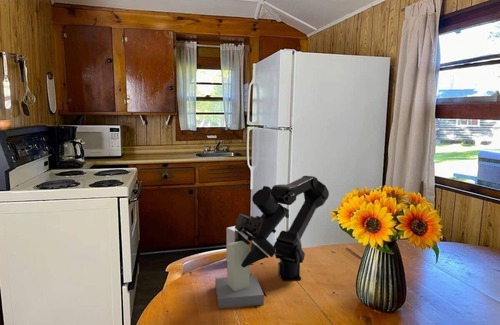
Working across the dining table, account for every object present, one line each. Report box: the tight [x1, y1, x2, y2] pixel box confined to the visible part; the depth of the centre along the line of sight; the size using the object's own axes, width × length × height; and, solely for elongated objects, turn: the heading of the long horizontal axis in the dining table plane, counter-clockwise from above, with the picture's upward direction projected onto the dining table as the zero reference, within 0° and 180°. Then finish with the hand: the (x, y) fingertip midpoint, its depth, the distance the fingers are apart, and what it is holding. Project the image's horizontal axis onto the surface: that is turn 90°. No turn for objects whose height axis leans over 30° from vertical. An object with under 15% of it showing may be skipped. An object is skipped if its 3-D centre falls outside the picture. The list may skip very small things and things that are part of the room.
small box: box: [225, 225, 254, 260], centre depth 131 cm, size 8×6×13 cm
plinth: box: [214, 274, 265, 309], centre depth 106 cm, size 13×13×3 cm
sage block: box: [226, 241, 251, 291], centre depth 105 cm, size 5×5×13 cm
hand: (236, 260), depth 105 cm, fingers open, 9 cm apart
